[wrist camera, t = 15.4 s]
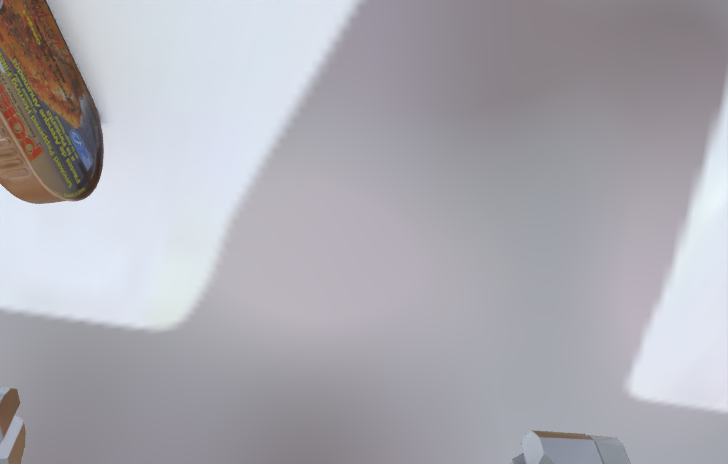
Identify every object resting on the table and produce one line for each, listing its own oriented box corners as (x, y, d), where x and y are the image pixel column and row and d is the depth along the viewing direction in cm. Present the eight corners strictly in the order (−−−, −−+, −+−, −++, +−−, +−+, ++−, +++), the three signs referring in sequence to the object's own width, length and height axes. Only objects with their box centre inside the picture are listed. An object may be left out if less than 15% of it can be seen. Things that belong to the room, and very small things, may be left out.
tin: (118, 153, 42) (78, 229, 36) (72, 161, 43) (24, 239, 36) (0, -98, 34) (-82, -59, 27) (-57, -86, 34) (-153, -44, 27)
